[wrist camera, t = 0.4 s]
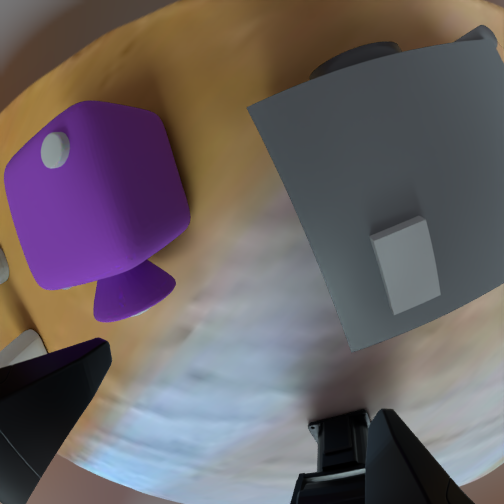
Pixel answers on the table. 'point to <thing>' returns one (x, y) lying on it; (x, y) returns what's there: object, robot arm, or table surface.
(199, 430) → the table surface
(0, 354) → the photo printer
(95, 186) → the toy camera
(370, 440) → the robot arm
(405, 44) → the table surface
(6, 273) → the electronic device
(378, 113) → the camera case
